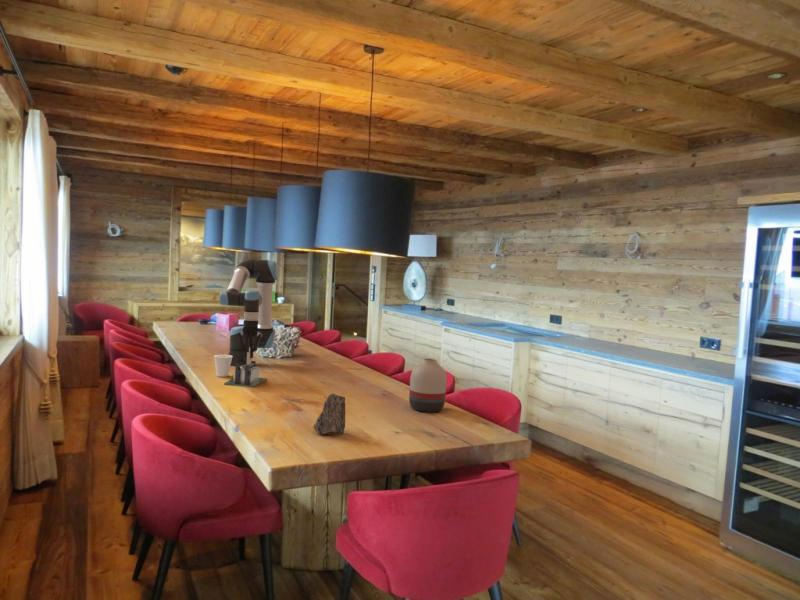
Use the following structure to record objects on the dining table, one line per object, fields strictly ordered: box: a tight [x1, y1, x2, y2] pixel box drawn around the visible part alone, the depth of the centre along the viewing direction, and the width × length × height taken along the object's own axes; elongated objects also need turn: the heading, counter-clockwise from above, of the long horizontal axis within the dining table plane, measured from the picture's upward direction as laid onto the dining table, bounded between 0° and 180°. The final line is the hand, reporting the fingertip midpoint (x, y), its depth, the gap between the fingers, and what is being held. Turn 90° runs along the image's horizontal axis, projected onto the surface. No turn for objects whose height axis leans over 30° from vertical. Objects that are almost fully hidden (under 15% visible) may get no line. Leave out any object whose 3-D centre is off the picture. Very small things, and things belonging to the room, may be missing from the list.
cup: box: [213, 354, 233, 378], centre depth 312 cm, size 10×10×11 cm
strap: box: [239, 363, 254, 370], centre depth 300 cm, size 15×3×1 cm, turn 175°
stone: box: [313, 393, 346, 436], centre depth 221 cm, size 13×13×15 cm
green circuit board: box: [223, 360, 268, 388], centre depth 301 cm, size 20×16×10 cm
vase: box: [408, 358, 448, 413], centre depth 268 cm, size 17×17×24 cm
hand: (248, 364), depth 303 cm, fingers closed
